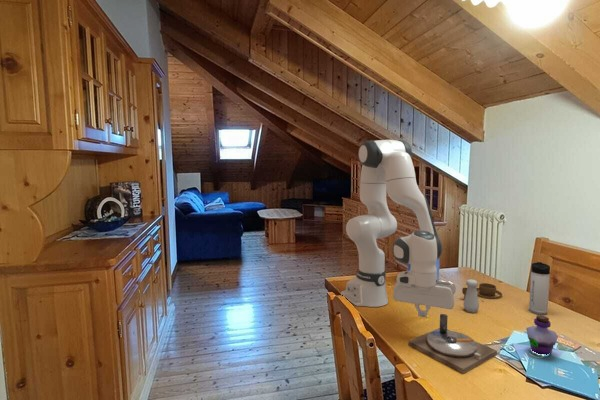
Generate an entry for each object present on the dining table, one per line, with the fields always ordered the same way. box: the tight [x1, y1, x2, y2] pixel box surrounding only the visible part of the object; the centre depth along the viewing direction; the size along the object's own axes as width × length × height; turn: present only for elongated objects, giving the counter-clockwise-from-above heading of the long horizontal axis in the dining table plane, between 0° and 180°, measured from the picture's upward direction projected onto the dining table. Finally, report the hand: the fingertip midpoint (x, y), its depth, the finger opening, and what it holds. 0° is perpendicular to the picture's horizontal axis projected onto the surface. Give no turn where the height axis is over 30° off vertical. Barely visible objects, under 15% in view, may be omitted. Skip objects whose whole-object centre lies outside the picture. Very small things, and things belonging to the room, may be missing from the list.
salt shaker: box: [463, 278, 480, 314], centre depth 146 cm, size 6×6×13 cm
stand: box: [408, 327, 498, 375], centre depth 117 cm, size 20×18×3 cm
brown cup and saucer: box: [461, 282, 503, 303], centre depth 164 cm, size 18×20×6 cm
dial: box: [427, 313, 477, 357], centre depth 116 cm, size 15×15×7 cm
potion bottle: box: [525, 314, 559, 355], centre depth 114 cm, size 9×9×12 cm
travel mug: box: [528, 261, 551, 316], centre depth 144 cm, size 6×7×20 cm
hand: (422, 316), depth 125 cm, fingers closed
